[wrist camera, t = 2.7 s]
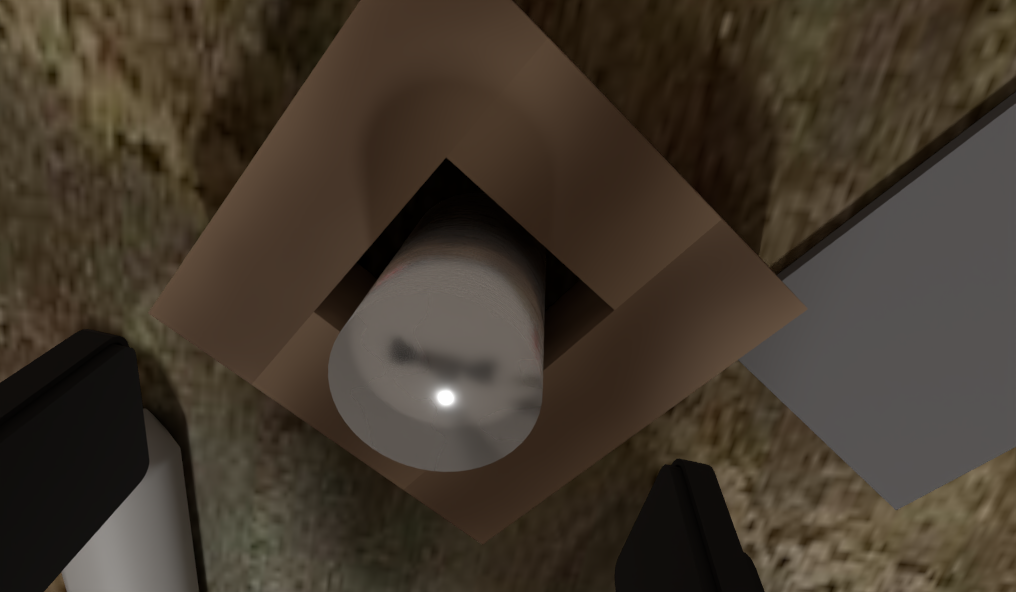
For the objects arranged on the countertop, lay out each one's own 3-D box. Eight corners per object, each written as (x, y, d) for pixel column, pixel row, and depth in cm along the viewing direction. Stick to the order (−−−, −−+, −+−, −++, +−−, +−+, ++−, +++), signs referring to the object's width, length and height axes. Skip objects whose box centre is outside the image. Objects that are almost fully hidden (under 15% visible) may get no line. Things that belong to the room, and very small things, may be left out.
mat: (1212, 326, 19) (1229, 333, 18) (889, 501, 23) (895, 510, 23) (1040, 72, 16) (1055, 73, 15) (707, 327, 20) (711, 334, 20)
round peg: (575, 258, 19) (588, 390, 12) (483, 344, 21) (448, 502, 14) (469, 162, 18) (416, 245, 11) (382, 261, 20) (287, 388, 13)
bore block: (759, 256, 19) (808, 309, 15) (492, 468, 24) (482, 544, 20) (453, -63, 15) (422, -92, 12) (219, 264, 20) (147, 312, 17)
